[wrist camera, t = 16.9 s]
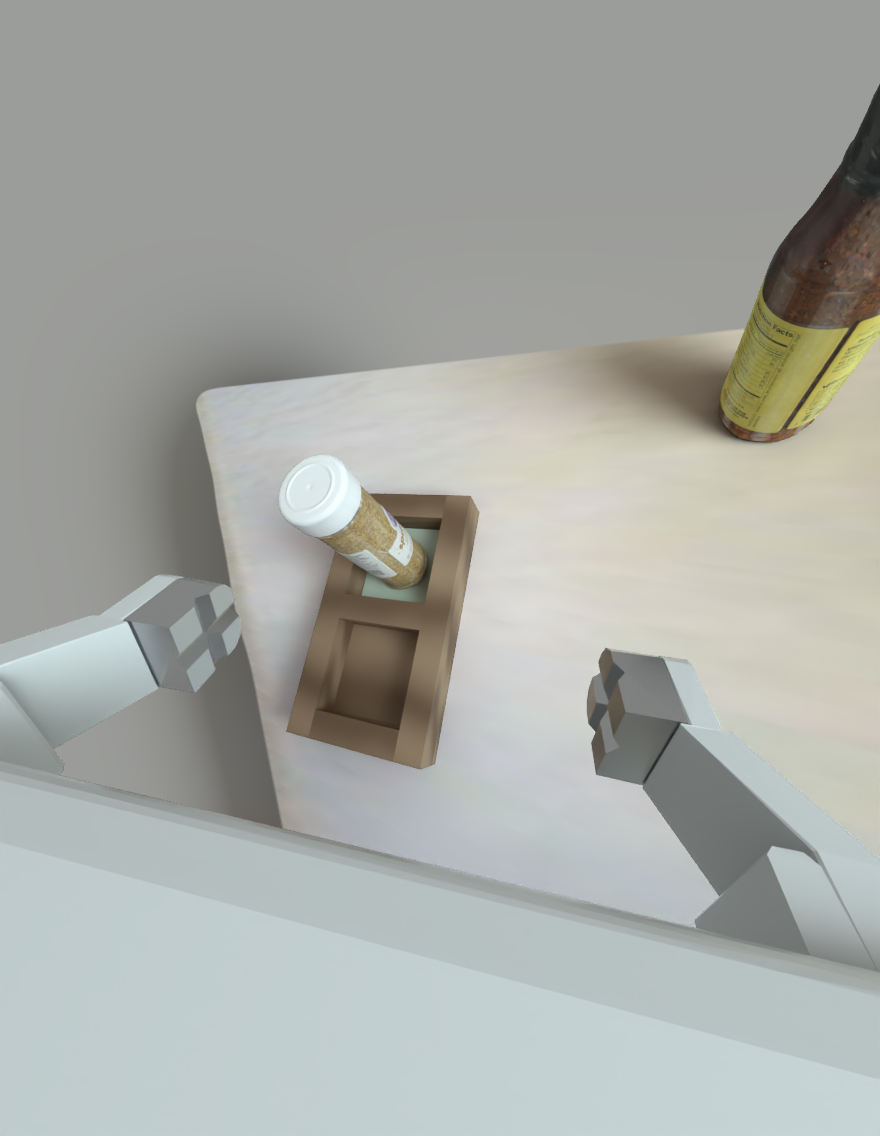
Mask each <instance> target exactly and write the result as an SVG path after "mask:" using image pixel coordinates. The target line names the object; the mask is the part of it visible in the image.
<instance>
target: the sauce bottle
mask: <svg viewBox="0 0 880 1136" xmlns="http://www.w3.org/2000/svg"><path fill="white" fill-rule="evenodd" d="M879 335H880V85H879V87H878V89H877V91H876V92H875V94H874V97H873V99H872V101H871V104H870V106H869V108H868V111H867V113H866V115H865V117H864V120H863V122H862V124H861V126H860V128H859V131H858V133H857V135H856V137H855V139H854V140H853V141H852V143H851V144H850V145H849V147H848V149H847V151H846V153H845V155H844V158H843V161H842V163H841V165H840V166H839V168H838V169H837V171H836V172H835V174H834V175H833V177H832V178H831V179H830V181H829V182H828V184H827V185H826V187H825V188H824V190H823V191H822V192H821V194H820V195H819V197H818V198H817V200H816V201H815V203H814V204H813V205H812V206H811V208H810V209H809V210H808V211H807V213H806V214H805V215H804V216H803V217H802V218H801V219H800V220H799V221H798V223H797V224H796V225H795V226H794V227H793V229H792V230H791V231H790V232H789V234H788V235H787V236H786V238H785V239H784V241H783V242H782V243H781V245H780V246H779V248H778V249H777V251H776V253H775V255H774V257H773V259H772V261H771V263H770V265H769V268H768V270H767V273H766V275H765V278H764V281H763V283H762V286H761V289H760V291H759V294H758V297H757V299H756V302H755V305H754V308H753V310H752V313H751V315H750V318H749V321H748V323H747V326H746V328H745V331H744V333H743V336H742V338H741V341H740V344H739V346H738V349H737V351H736V354H735V356H734V359H733V362H732V364H731V367H730V369H729V372H728V374H727V377H726V379H725V382H724V385H723V387H722V390H721V397H720V399H721V400H720V405H719V416H720V418H721V420H722V422H723V423H724V425H725V426H726V427H727V428H728V429H729V431H730V432H732V433H733V434H734V435H736V436H737V437H739V438H743V439H747V440H751V441H763V442H766V441H769V442H773V441H780V440H784V439H787V438H790V437H792V436H794V435H796V434H797V433H798V432H800V431H801V430H803V429H804V428H806V427H807V426H808V425H809V424H811V423H812V422H813V421H814V419H815V418H816V417H817V416H818V415H819V414H820V413H821V412H822V411H823V410H824V409H825V407H826V406H827V405H828V403H829V402H830V401H831V399H832V398H833V397H834V395H835V394H836V393H837V391H838V390H839V389H840V387H841V386H842V385H843V383H844V382H845V381H846V379H847V378H848V377H849V375H850V374H851V372H852V371H853V370H854V368H855V367H856V366H857V364H858V363H859V362H860V360H861V359H862V357H863V356H864V355H865V353H866V352H867V351H868V349H869V348H870V347H871V345H872V344H873V343H874V341H875V340H876V339H877V337H878V336H879Z"/></svg>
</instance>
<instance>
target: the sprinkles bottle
mask: <svg viewBox="0 0 880 1136" xmlns="http://www.w3.org/2000/svg"><path fill="white" fill-rule="evenodd" d="M278 505H279V509H280V512H281V514H282V515H283V517H284V518H285V519H286V520H287V521H288V522H289V523H290V524H292V525H293V526H295V527H296V528H298V529H299V530H301V531H302V532H304V533H305V534H307V535H310V536H313V537H316V538H319V539H320V540H322V541H323V542H325V543H326V544H327V545H329V546H331V547H332V548H333V549H334V550H335V551H336V552H338V553H339V554H341V555H342V556H344V557H346V558H347V559H349V560H350V561H352V562H353V563H355V564H356V565H358V566H359V567H361V568H362V569H364V570H365V571H367V572H368V573H370V574H372V575H373V576H375V577H378V578H380V579H381V580H382V581H383V582H384V583H385V584H386V585H387V586H389V587H391V588H393V589H399V590H400V589H401V590H402V589H407V588H410V587H412V586H414V585H416V584H417V583H419V581H420V580H421V579H422V578H423V576H424V574H425V572H426V569H427V565H428V557H427V553H426V550H425V549H424V547H423V546H422V545H421V544H420V543H419V542H417V541H415V540H414V539H413V538H412V537H411V536H410V535H409V533H408V532H407V531H406V530H405V529H404V528H403V527H402V526H401V525H400V524H399V523H398V522H397V521H396V520H395V519H394V518H393V517H392V516H391V515H390V514H389V513H388V512H387V511H386V510H385V509H384V508H383V507H382V506H381V505H380V504H378V503H377V502H376V500H374V499H373V497H372V496H371V495H369V494H368V492H367V491H365V490H364V489H363V488H362V487H361V485H360V483H359V481H358V479H357V477H356V476H355V475H354V474H353V473H352V472H351V471H350V470H349V469H348V468H347V467H346V466H345V465H344V464H343V463H342V462H341V461H340V460H339V459H337V458H335V457H333V456H330V455H324V454H320V455H314V456H311V457H308V458H306V459H304V460H302V461H301V462H299V463H298V464H296V465H295V466H294V467H293V468H292V469H291V470H290V471H289V473H288V474H287V475H286V477H285V479H284V480H283V482H282V485H281V487H280V490H279V496H278Z"/></svg>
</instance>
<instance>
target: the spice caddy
mask: <svg viewBox="0 0 880 1136" xmlns="http://www.w3.org/2000/svg"><path fill="white" fill-rule="evenodd" d="M369 495H371V496H372V497H373V499H374V500H376V502H377V503H378V504H380V505H381V506H382V507H383V508H384V509H385V510H386V511H387V512H388V513H389V514H390V515H391V516H392V517H393V518H394V519H395V520H396V521H397V522H398V523H399V524H400V525H401V526H402V527H403V528H404V529H405V530H406V531H407V532H408V533H409V535H410V536H411V537H412V538H413V539H414V540H415V541H417V542H419V543H420V544H421V545H422V546H423V547H424V549H425V550H426V553H427V557H428V565H427V569H426V572H425V574H424V576H423V578H422V579H421V580H420V581H419V583H417V584H416V585H414V586H412V587H410V588H407V589H402V590H401V589H400V590H399V589H393V588H391V587H389V586H387V585H386V584H385V583H384V582H383V581H382V580H381V579H380V578H378V577H375V576H373V575H372V574H370V573H368V572H367V571H365V570H364V569H362V568H361V567H359V566H358V565H356V564H355V563H353V562H352V561H350V560H349V559H347V558H346V557H344V556H342V555H341V554H339V553H338V552H336V551H335V554H334V558H333V562H332V565H331V569H330V573H329V576H328V580H327V584H326V587H325V591H324V595H323V598H322V602H321V606H320V609H319V613H318V617H317V621H316V624H315V628H314V632H313V635H312V639H311V643H310V646H309V650H308V654H307V657H306V661H305V665H304V668H303V672H302V676H301V679H300V683H299V687H298V690H297V694H296V698H295V701H294V705H293V709H292V712H291V716H290V720H289V723H288V727H287V731H286V732H289V733H293V734H296V735H300V736H303V737H307V738H310V739H314V740H318V741H321V742H325V743H328V744H332V745H335V746H339V747H342V748H346V749H349V750H353V751H357V752H360V753H364V754H367V755H371V756H374V757H378V758H381V759H385V760H388V761H392V762H396V763H399V764H403V765H406V766H410V767H413V768H417V769H423V768H425V767H428V766H431V765H434V764H435V760H436V754H437V749H438V743H439V737H440V732H441V726H442V720H443V715H444V709H445V703H446V698H447V692H448V686H449V681H450V675H451V669H452V664H453V658H454V652H455V647H456V641H457V635H458V630H459V624H460V618H461V613H462V607H463V601H464V596H465V590H466V584H467V579H468V573H469V567H470V562H471V556H472V550H473V545H474V539H475V533H476V528H477V522H478V516H479V511H478V509H477V507H476V505H475V503H474V501H473V500H472V498H471V496H454V495H410V494H369Z"/></svg>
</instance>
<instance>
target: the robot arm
mask: <svg viewBox="0 0 880 1136" xmlns="http://www.w3.org/2000/svg"><path fill="white" fill-rule="evenodd" d="M234 601H235V599H234V596H233V593H232V589H231V588H230V587H228V586H226V585H224V584H218V583H213V582H208V581H203V580H198V579H192V578H187V577H180V576H175V575H169V574H162V575H157V576H155V577H154V578H152V579H151V580H149V581H148V582H147V583H145V584H144V585H142V586H141V587H139V588H138V589H137V590H135V591H134V592H132V593H131V594H129V595H128V596H126V597H125V598H124V599H122V600H121V601H119V602H118V603H117V604H115V605H114V606H112V607H111V608H109V609H108V610H106V611H105V612H104V613H102V614H101V615H99V616H93V615H90V616H87V617H84V618H81V619H78V620H75V621H72V622H69V623H65V624H62V625H60V626H56V627H53V628H50V629H47V630H44V631H40V632H38V633H34V634H31V635H28V636H25V637H22V638H18V639H15V640H12V641H9V642H6V643H3V644H0V1136H880V859H879V858H878V857H877V856H875V855H874V854H873V853H872V852H871V851H870V850H868V849H867V848H866V847H865V846H864V845H863V844H861V843H860V842H859V841H858V840H857V839H856V838H854V837H853V836H852V835H851V834H850V833H849V832H847V831H846V830H845V829H844V828H843V827H842V826H840V825H839V824H838V823H837V822H836V821H835V820H833V819H832V818H831V817H830V816H829V815H828V814H826V813H825V812H824V811H823V810H822V809H821V808H819V807H818V806H817V805H816V804H815V803H814V802H812V801H811V800H810V799H809V798H808V797H807V796H805V795H804V794H803V793H802V792H801V791H800V790H798V789H797V788H796V787H795V786H794V785H793V784H791V783H790V782H789V781H788V780H787V779H786V778H784V777H783V776H782V775H781V774H780V773H779V772H777V771H776V770H775V769H774V768H773V767H772V766H770V765H769V764H768V763H767V762H766V761H765V760H763V759H762V758H761V757H760V756H759V755H758V754H756V753H755V752H754V751H753V750H752V749H751V748H749V747H748V746H747V745H746V744H745V743H744V742H742V741H741V740H740V739H739V738H738V737H737V736H735V735H734V734H733V733H730V732H725V731H723V729H722V727H721V725H720V723H719V721H718V719H717V717H716V715H715V713H714V710H713V708H712V706H711V704H710V702H709V700H708V698H707V696H706V694H705V692H704V689H703V687H702V685H701V683H700V681H699V679H698V677H697V675H696V673H695V670H694V668H693V666H692V664H691V663H690V662H688V661H687V660H684V659H677V658H670V657H663V656H653V655H647V654H641V653H634V652H628V651H622V650H616V649H609V648H605V650H604V651H603V652H602V654H601V657H600V659H599V668H600V673H599V674H598V675H596V676H594V677H593V678H592V681H591V684H590V687H589V691H588V698H587V716H588V723H589V725H590V726H591V727H592V728H593V729H594V731H595V732H596V733H595V735H594V738H593V740H592V743H591V744H592V751H593V757H594V764H595V770H596V775H600V776H604V777H609V778H613V779H617V780H622V781H626V782H630V783H635V784H639V785H644V786H643V787H642V788H643V789H644V790H645V792H646V793H647V795H648V796H649V797H650V799H651V800H652V802H653V803H654V805H655V806H656V807H657V809H658V810H659V812H660V813H661V814H662V816H663V817H664V819H665V820H666V822H667V823H668V824H669V826H670V827H671V829H672V830H673V831H674V833H675V834H676V836H677V837H678V838H679V840H680V841H681V843H682V844H683V846H684V847H685V848H686V850H687V851H688V853H689V854H690V855H691V857H692V858H693V860H694V861H695V863H696V864H697V865H698V867H699V868H700V870H701V871H702V872H703V874H704V875H705V877H706V878H707V880H708V881H709V882H710V884H711V885H712V887H713V888H714V889H715V891H716V892H717V894H718V895H719V897H718V898H717V899H716V900H715V901H714V902H713V903H712V904H711V905H710V906H708V907H707V908H706V909H705V910H704V911H703V912H702V913H701V914H700V915H699V916H698V918H697V919H696V920H695V924H696V928H694V927H689V926H685V925H681V924H677V923H673V922H669V921H665V920H660V919H656V918H652V917H648V916H644V915H640V914H635V913H631V912H627V911H623V910H619V909H615V908H611V907H606V906H602V905H598V904H594V903H590V902H586V901H581V900H577V899H573V898H569V897H565V896H561V895H557V894H552V893H548V892H544V891H540V890H536V889H532V888H528V887H523V886H519V885H515V884H511V883H507V882H503V881H498V880H494V879H490V878H486V877H482V876H478V875H474V874H469V873H465V872H461V871H457V870H453V869H449V868H444V867H440V866H436V865H432V864H428V863H424V862H420V861H415V860H411V859H407V858H403V857H399V856H395V855H390V854H386V853H382V852H378V851H374V850H370V849H365V848H361V847H357V846H353V845H349V844H345V843H341V842H336V841H332V840H328V839H324V838H320V837H316V836H311V835H307V834H303V833H299V832H295V831H291V830H286V829H282V828H278V827H274V826H270V825H265V824H262V823H257V822H253V821H249V820H244V819H240V818H236V817H232V816H228V815H224V814H220V813H215V812H211V811H207V810H203V809H199V808H194V807H190V806H186V805H182V804H178V803H174V802H170V801H165V800H161V799H157V798H153V797H149V796H144V795H141V794H136V793H132V792H128V791H124V790H120V789H115V788H111V787H107V786H103V785H99V784H95V783H90V782H86V781H82V780H78V779H74V778H69V777H65V776H61V775H60V773H62V772H63V770H64V763H63V762H62V760H61V759H60V757H59V756H58V755H57V753H56V752H55V751H54V750H53V749H55V748H56V747H58V746H60V745H62V744H63V743H65V742H67V741H68V740H70V739H72V738H74V737H75V736H77V735H79V734H81V733H82V732H84V731H86V730H87V729H89V728H91V727H93V726H95V725H96V724H98V723H100V722H102V721H103V720H105V719H107V718H108V717H110V716H112V715H114V714H115V713H117V712H119V711H121V710H122V709H124V708H126V707H128V706H129V705H131V704H133V703H134V702H136V701H138V700H140V699H142V698H143V697H145V696H147V695H149V694H150V693H152V692H153V691H155V690H157V689H158V687H162V688H169V689H174V690H180V691H186V692H191V693H195V692H196V691H197V690H198V689H199V688H200V687H201V685H203V683H204V682H205V681H206V680H207V679H208V678H209V677H210V676H211V674H212V673H213V672H214V671H215V662H216V661H217V660H220V659H222V658H224V657H226V656H228V655H229V654H230V653H231V651H232V650H233V649H234V648H235V647H236V645H237V642H238V640H239V637H240V635H241V621H240V617H239V615H238V614H237V613H236V612H235V611H234V610H233V609H232V608H231V605H232V604H233V602H234Z"/></svg>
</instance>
